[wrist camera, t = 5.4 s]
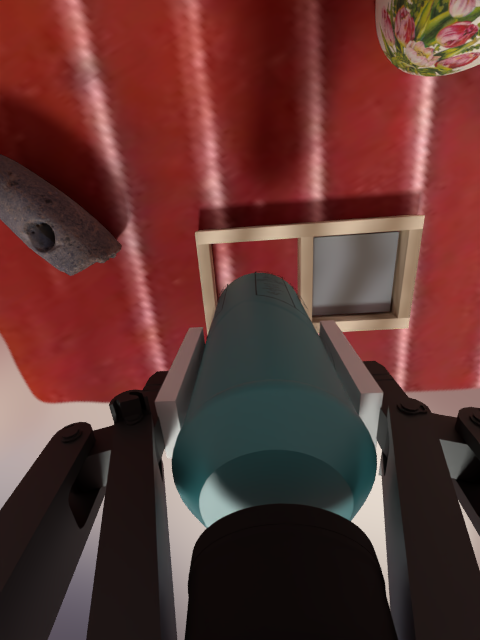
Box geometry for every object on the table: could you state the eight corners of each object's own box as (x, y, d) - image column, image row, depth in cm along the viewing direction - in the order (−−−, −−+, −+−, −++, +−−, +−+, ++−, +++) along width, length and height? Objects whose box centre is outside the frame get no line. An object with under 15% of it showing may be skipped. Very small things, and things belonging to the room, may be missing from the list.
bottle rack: (210, 331, 35) (207, 338, 33) (198, 230, 31) (194, 232, 29) (399, 321, 33) (408, 328, 32) (413, 214, 29) (424, 215, 27)
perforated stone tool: (-16, 174, 29) (-92, 166, 23) (9, 129, 28) (-64, 107, 21) (107, 278, 33) (72, 297, 26) (136, 244, 31) (106, 254, 25)
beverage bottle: (200, 300, 23) (4, 692, 5) (265, 245, 22) (356, 529, 3) (252, 356, 25) (258, 803, 7) (317, 309, 23) (577, 740, 5)
